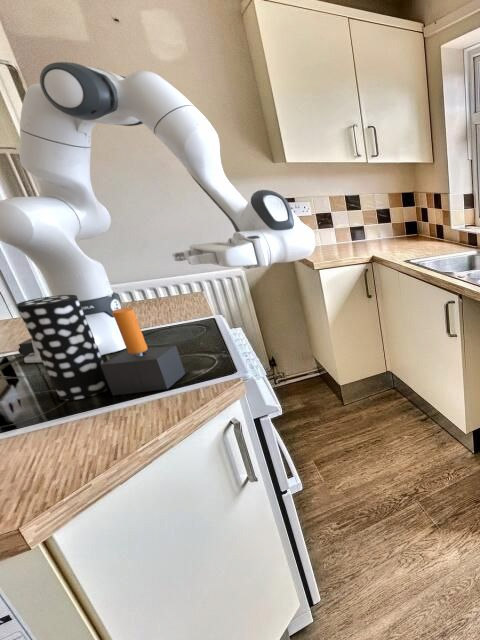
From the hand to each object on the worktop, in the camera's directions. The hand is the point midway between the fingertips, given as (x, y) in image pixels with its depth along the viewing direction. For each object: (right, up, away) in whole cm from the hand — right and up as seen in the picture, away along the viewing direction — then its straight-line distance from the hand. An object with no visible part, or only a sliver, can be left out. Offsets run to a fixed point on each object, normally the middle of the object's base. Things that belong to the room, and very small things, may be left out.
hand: (181, 259), depth 92 cm
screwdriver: (-7, -27, 0) cm, 28 cm away
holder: (-7, -27, 0) cm, 28 cm away
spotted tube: (-18, -29, -2) cm, 34 cm away
